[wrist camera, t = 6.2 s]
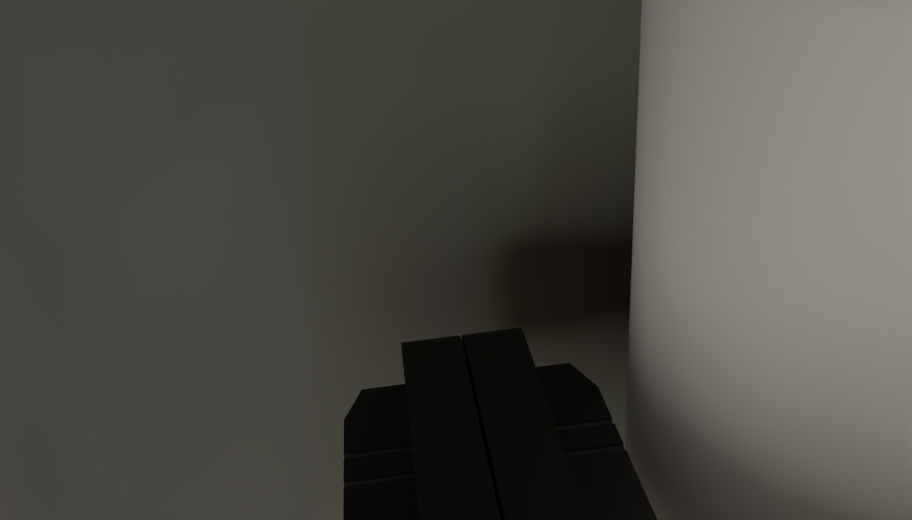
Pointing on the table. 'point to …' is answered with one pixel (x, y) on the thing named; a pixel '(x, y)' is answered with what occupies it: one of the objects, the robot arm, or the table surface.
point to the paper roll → (773, 260)
